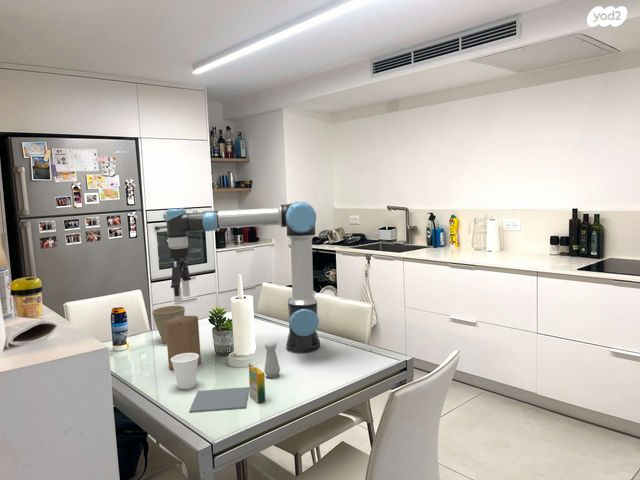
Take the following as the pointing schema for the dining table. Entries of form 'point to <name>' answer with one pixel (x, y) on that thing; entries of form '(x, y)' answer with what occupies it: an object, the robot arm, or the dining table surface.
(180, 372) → the cup
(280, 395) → the dining table surface
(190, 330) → the wooden block
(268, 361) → the salt shaker
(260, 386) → the crayon box
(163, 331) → the plant pot
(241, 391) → the mat
